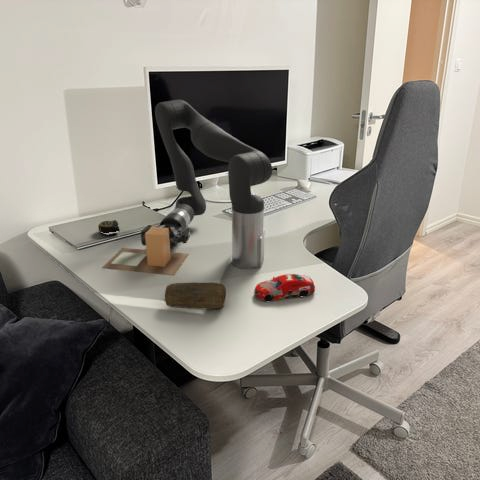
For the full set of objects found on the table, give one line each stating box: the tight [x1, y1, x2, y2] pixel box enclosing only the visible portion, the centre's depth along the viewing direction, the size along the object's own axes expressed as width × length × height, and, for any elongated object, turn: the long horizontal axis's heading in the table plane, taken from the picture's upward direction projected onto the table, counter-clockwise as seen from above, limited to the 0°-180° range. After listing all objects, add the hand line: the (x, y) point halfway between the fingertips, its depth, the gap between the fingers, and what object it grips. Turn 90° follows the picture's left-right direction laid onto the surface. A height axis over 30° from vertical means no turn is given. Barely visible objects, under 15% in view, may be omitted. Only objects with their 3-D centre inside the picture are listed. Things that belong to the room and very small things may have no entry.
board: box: [101, 247, 190, 276], centre depth 135 cm, size 22×14×8 cm, turn 78°
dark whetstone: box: [164, 282, 227, 309], centre depth 115 cm, size 15×7×7 cm, turn 90°
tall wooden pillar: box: [145, 226, 171, 267], centre depth 133 cm, size 5×5×10 cm
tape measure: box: [97, 219, 121, 233], centre depth 158 cm, size 7×7×4 cm
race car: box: [253, 273, 316, 303], centre depth 121 cm, size 16×7×5 cm, turn 102°
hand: (157, 244), depth 133 cm, fingers open, 8 cm apart
